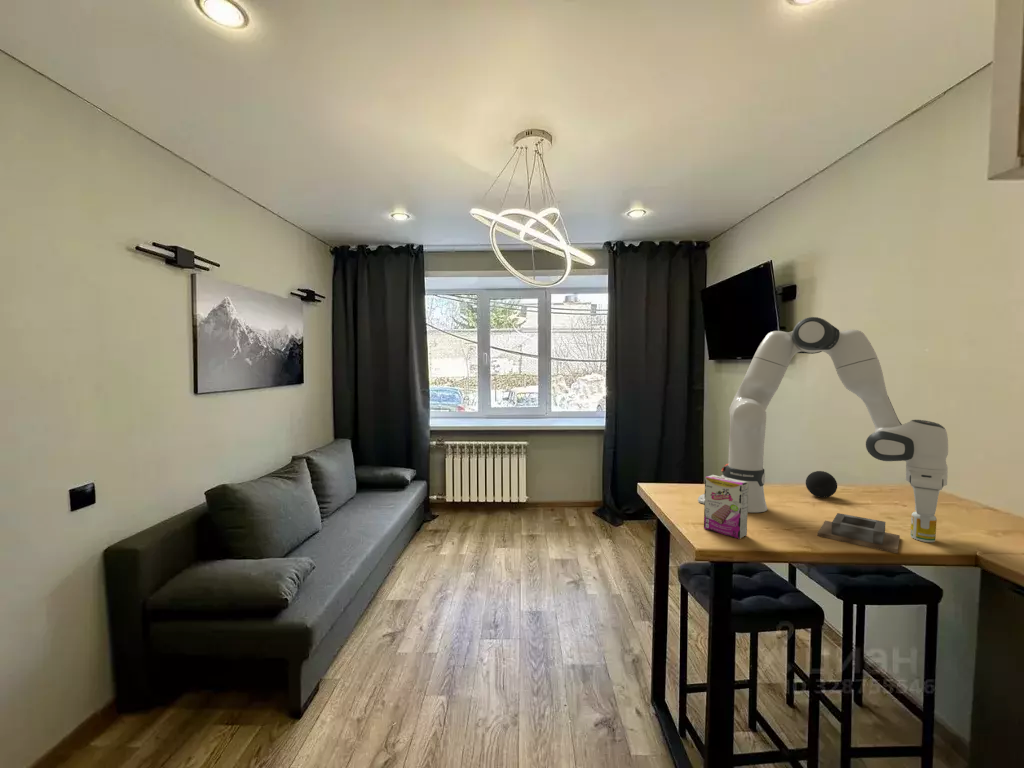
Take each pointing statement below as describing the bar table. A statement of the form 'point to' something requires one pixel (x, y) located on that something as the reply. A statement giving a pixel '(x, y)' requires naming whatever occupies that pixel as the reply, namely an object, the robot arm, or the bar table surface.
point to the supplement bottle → (922, 533)
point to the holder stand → (860, 532)
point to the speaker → (821, 484)
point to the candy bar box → (726, 506)
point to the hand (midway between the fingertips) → (924, 523)
